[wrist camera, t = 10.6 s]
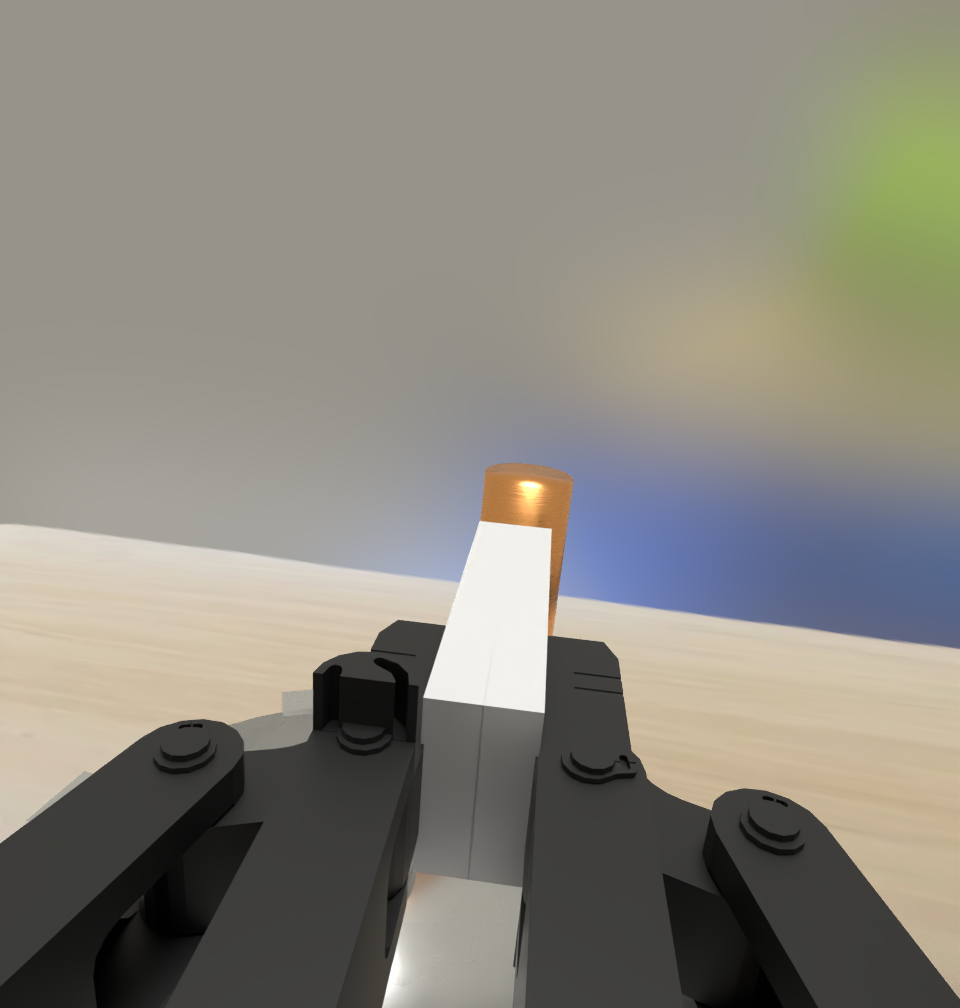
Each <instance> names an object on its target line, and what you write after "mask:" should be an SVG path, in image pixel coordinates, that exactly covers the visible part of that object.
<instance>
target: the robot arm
mask: <svg viewBox="0 0 960 1008" xmlns="http://www.w3.org/2000/svg"><path fill="white" fill-rule="evenodd" d="M551 533H552V529H548V528H539V527H530V526H520V525H511V524H502V523H493V522H483V521H480V522H479V525H478V528H477V531H476V534H475V538H474V541H473V544H472V547H471V550H470V553H469V557H468V559H467V563H466V566H465V569H464V572H463V575H462V578H461V581H460V584H459V587H458V591H457V594H456V597H455V600H454V603H453V606H452V609H451V612H450V616H449V619H448V622H447V625H446V626H445V625H436V624H428V623H420V622H411V621H403V620H397V621H396V622H394V623H393V624H391V625H390V626H389V627H387V628H386V629H384V630H383V631H381V632H380V633H379V634H378V636H377V638H376V640H375V642H374V644H373V646H372V648H371V652H354V653H349V654H344V655H339V656H337V657H335V658H332V659H330V660H328V661H326V662H323V663H322V664H321V665H320V666H319V667H318V668H317V669H316V670H315V671H314V672H313V730H312V732H311V734H310V736H309V738H308V740H307V742H303V743H300V744H297V745H294V746H289V747H283V748H277V749H266V750H254V751H244V740H243V739H242V737H241V736H240V734H239V733H238V731H237V730H236V729H234V728H232V727H230V726H228V725H227V724H225V723H223V722H217V721H211V720H205V719H200V720H188V721H180V722H176V723H173V724H170V725H166V726H163V727H160V728H158V729H156V730H154V731H153V732H151V733H149V734H147V735H145V736H144V737H142V738H140V739H139V740H138V741H136V742H135V743H134V744H132V745H131V746H130V747H128V748H127V749H126V750H124V751H123V752H122V753H120V754H119V755H118V756H116V757H115V758H114V759H112V760H111V761H110V762H108V763H107V764H106V765H104V766H103V767H102V768H100V769H99V770H98V771H96V772H95V773H94V774H92V775H91V776H90V777H88V778H87V779H86V780H84V781H83V782H82V783H80V784H79V785H78V786H76V787H75V788H74V789H72V790H71V791H70V792H68V793H67V794H66V795H64V796H63V797H62V798H60V799H59V800H58V801H56V802H55V803H54V804H52V805H51V806H50V807H48V808H47V809H46V810H44V811H43V812H42V813H40V814H39V815H38V816H36V817H35V818H34V819H32V820H31V821H30V822H28V823H27V824H26V825H24V826H23V827H22V828H20V829H19V830H18V831H16V832H15V833H14V834H12V835H11V836H10V837H8V838H7V839H6V840H4V841H3V842H2V843H0V1008H382V1006H383V1001H384V997H385V993H386V989H387V985H388V981H389V976H390V972H391V968H392V964H393V960H394V955H395V951H396V947H397V943H398V939H399V935H400V930H401V926H402V922H403V918H404V914H405V909H406V905H407V887H408V874H409V870H410V866H411V862H412V858H413V854H414V862H413V872H419V873H426V874H433V875H440V876H446V877H453V878H460V879H467V880H474V881H481V882H488V883H494V884H501V885H508V886H515V887H522V896H521V904H520V912H519V921H518V929H517V937H516V946H515V954H514V962H513V967H515V978H514V992H513V1007H512V1008H960V999H959V998H958V996H957V995H956V994H955V993H954V991H953V990H952V989H951V987H950V986H949V985H948V984H947V982H946V981H945V980H944V978H943V977H942V976H941V974H940V973H939V972H938V971H937V969H936V968H935V967H934V965H933V964H932V963H931V962H930V960H929V959H928V958H927V956H926V955H925V954H924V953H923V951H922V950H921V949H920V947H919V946H918V945H917V944H916V942H915V941H914V940H913V938H912V937H911V936H910V935H909V933H908V932H907V931H906V929H905V928H904V927H903V926H902V924H901V923H900V922H899V920H898V919H897V918H896V917H895V915H894V914H893V913H892V911H891V910H890V909H889V908H888V906H887V905H886V904H885V902H884V901H883V900H882V898H881V897H880V896H879V895H878V893H877V892H876V891H875V889H874V888H873V887H872V886H871V884H870V883H869V882H868V880H867V879H866V878H865V877H864V875H863V874H862V873H861V871H860V870H859V869H858V868H857V866H856V865H855V864H854V862H853V861H852V860H851V859H850V857H849V856H848V855H847V853H846V852H845V851H844V850H843V848H842V847H841V846H840V844H839V843H838V842H837V841H836V839H835V838H834V837H833V835H832V834H831V833H830V832H829V830H828V829H827V828H826V827H825V826H824V825H823V824H822V823H821V822H820V821H819V820H818V819H817V818H816V817H815V816H814V815H813V814H812V813H811V812H810V811H808V810H807V809H805V808H803V807H802V806H800V805H798V804H797V803H795V802H793V801H792V800H790V799H788V798H785V797H782V796H780V795H777V794H774V793H771V792H768V791H764V790H754V789H745V788H743V789H738V790H733V791H728V792H725V793H724V794H723V795H721V796H720V797H719V798H717V799H716V800H715V801H714V804H713V807H712V811H711V810H708V809H706V808H703V807H700V806H697V805H695V804H692V803H689V802H686V801H684V800H681V799H679V798H677V797H675V796H672V795H670V794H668V793H666V792H665V791H663V790H662V789H660V788H658V787H657V786H655V785H654V784H653V783H651V782H650V781H649V780H648V779H647V776H646V772H645V770H644V767H643V765H642V763H641V761H640V759H639V758H638V757H637V756H636V755H635V754H634V753H633V752H632V751H631V745H630V738H629V731H628V724H627V717H626V710H625V703H624V697H623V689H622V682H621V675H620V668H619V661H618V659H617V657H616V656H615V655H614V654H613V653H612V651H611V650H610V649H609V648H608V647H607V646H606V644H605V643H604V642H598V641H589V640H581V639H572V638H564V637H556V636H548V611H549V585H550V559H551Z"/></svg>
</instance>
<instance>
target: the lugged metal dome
mask: <svg viewBox="0 0 960 1008" xmlns="http://www.w3.org/2000/svg"><path fill="white" fill-rule="evenodd" d="M572 487H573V478H572V477H571V476H570V475H568V474H567V473H564V472H562V471H560V470H557V469H553V468H549V467H545V466H540V465H533V464H522V463H506V464H497V465H494V466H490V467H488V468H487V469H486V470H485V480H484V491H483V501H482V512H481V521H483V522H493V523H502V524H511V525H520V526H530V527H539V528H548V529H552V533H551V559H550V585H549V611H548V636H553V628H554V621H555V614H556V606H557V599H558V591H559V583H560V576H561V569H562V561H563V554H564V547H565V539H566V532H567V524H568V517H569V510H570V502H571V494H572ZM229 726H230V727H232V728H234V729H236V730H237V731H238V733H239V734H240V736H241V737H242V739H243V740H244V751H254V750H266V749H277V748H283V747H289V746H294V745H297V744H300V743H303V742H307V740H308V738H309V736H310V734H311V732H312V730H313V690H304V691H292V692H282V712H281V713H276V714H271V715H266V716H261V717H257V718H253V719H250V720H246V721H243V722H239V723H236V724H232V725H229ZM91 775H92V773H88V772H85V771H84V772H83V773H82V774H81V775H80V776H78V777H77V778H76V779H75V780H74V781H72V782H71V783H70V784H69V785H68V786H67V787H65V788H64V789H63V790H62V791H61V792H60V793H58V794H57V795H56V796H55V797H54V798H52V799H51V800H50V801H49V802H48V803H47V804H45V805H44V806H43V807H42V808H41V809H39V810H38V811H37V812H36V813H35V814H34V815H32V816H31V817H30V818H29V819H28V820H27V821H26V824H27V823H28V822H30V821H31V820H32V819H34V818H35V817H36V816H38V815H39V814H40V813H42V812H43V811H44V810H46V809H47V808H48V807H50V806H51V805H52V804H54V803H55V802H56V801H58V800H59V799H60V798H62V797H63V796H64V795H66V794H67V793H68V792H70V791H71V790H72V789H74V788H75V787H76V786H78V785H79V784H80V783H82V782H83V781H84V780H86V779H87V778H88V777H90V776H91ZM413 862H414V854H413V858H412V862H411V866H410V870H409V874H408V887H407V905H406V909H405V914H404V918H403V922H402V926H401V930H400V935H399V939H398V943H397V947H396V951H395V955H394V960H393V964H392V968H391V972H390V976H389V981H388V985H387V989H386V993H385V997H384V1001H383V1006H382V1008H512V1007H513V992H514V978H515V967H513V962H514V954H515V946H516V937H517V929H518V921H519V912H520V904H521V896H522V887H515V886H508V885H501V884H494V883H488V882H481V881H474V880H467V879H460V878H453V877H446V876H440V875H433V874H426V873H419V872H413Z"/></svg>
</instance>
